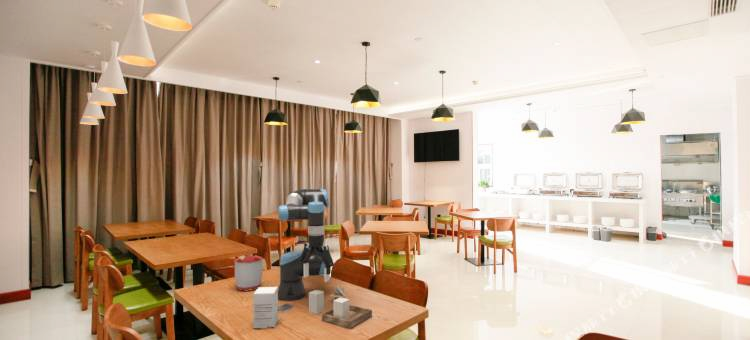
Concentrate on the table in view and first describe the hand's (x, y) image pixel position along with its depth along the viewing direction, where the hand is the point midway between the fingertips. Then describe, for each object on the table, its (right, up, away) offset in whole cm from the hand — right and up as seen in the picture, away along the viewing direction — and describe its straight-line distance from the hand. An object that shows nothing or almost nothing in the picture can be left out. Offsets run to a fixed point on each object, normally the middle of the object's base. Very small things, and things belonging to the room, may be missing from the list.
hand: (316, 279), depth 167 cm
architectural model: (+10, -16, +13) cm, 23 cm away
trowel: (-18, -15, 0) cm, 24 cm away
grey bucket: (-46, -17, +36) cm, 60 cm away
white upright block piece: (0, -15, 0) cm, 15 cm away
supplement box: (-20, -15, -15) cm, 29 cm away
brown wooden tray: (+15, -15, -10) cm, 24 cm away
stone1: (+13, -14, -13) cm, 23 cm away
